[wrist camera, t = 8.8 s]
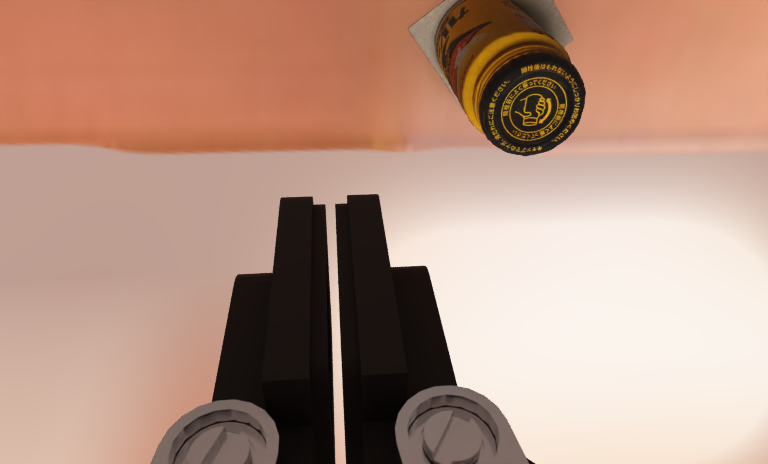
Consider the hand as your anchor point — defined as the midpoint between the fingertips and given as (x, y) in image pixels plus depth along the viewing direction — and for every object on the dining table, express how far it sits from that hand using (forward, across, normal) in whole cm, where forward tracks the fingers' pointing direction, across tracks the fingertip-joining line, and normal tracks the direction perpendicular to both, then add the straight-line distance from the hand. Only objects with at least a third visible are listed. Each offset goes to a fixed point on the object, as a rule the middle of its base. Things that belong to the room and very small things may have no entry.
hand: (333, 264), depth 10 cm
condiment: (+29, -11, +4) cm, 32 cm away
